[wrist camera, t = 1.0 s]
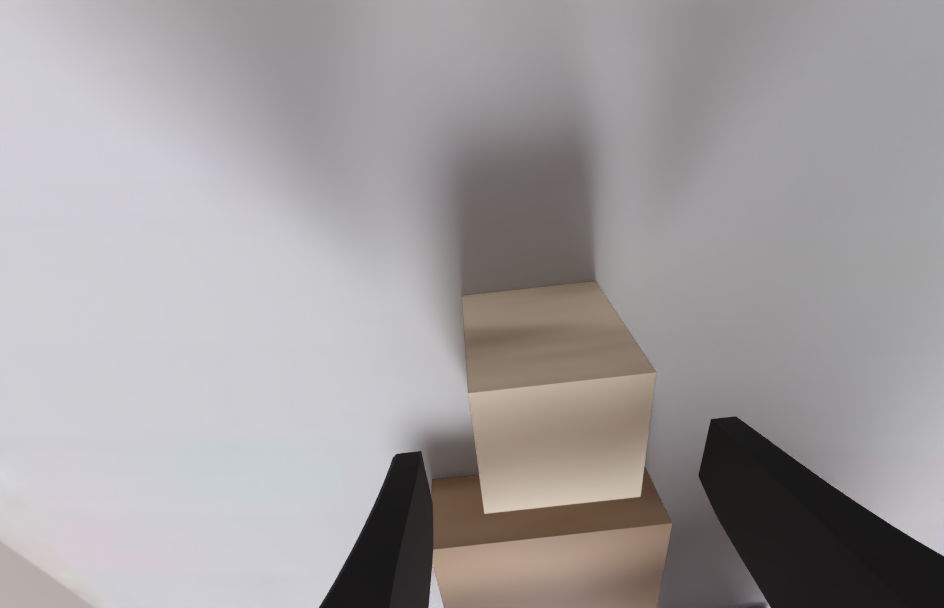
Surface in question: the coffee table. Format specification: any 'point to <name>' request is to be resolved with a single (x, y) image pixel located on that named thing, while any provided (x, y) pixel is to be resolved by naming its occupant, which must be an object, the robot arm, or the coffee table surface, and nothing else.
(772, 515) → the robot arm
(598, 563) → the tan flat block
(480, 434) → the maple cube
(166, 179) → the coffee table surface
